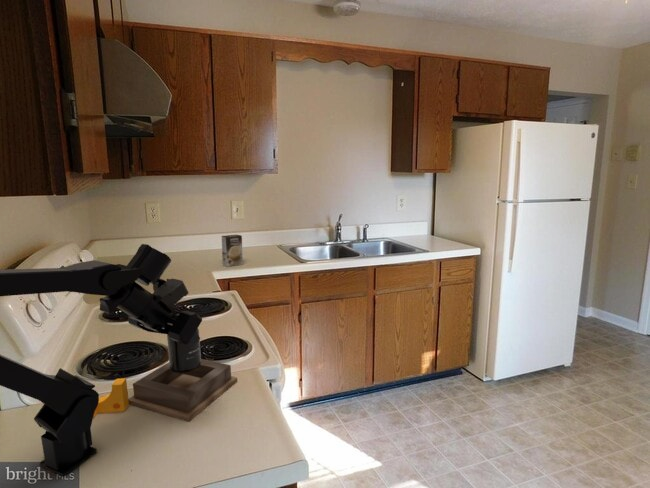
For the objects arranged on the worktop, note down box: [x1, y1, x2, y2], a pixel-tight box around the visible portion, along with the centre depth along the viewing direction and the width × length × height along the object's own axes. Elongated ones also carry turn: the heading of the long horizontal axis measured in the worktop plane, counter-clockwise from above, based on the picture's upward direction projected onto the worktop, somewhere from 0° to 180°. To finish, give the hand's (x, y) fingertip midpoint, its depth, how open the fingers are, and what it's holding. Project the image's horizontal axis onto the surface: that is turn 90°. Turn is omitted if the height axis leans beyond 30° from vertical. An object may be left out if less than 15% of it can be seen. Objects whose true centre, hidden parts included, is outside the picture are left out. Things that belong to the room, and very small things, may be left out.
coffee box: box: [221, 234, 244, 268], centre depth 214 cm, size 9×6×16 cm
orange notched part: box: [93, 377, 130, 419], centre depth 84 cm, size 12×4×6 cm, turn 97°
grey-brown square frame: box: [128, 358, 238, 423], centre depth 92 cm, size 17×17×4 cm
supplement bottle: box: [166, 313, 202, 373], centre depth 89 cm, size 7×7×12 cm
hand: (188, 336), depth 90 cm, fingers closed on supplement bottle, 7 cm apart
